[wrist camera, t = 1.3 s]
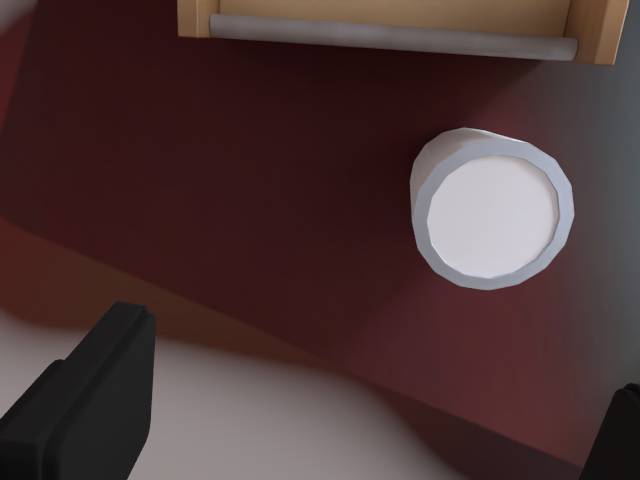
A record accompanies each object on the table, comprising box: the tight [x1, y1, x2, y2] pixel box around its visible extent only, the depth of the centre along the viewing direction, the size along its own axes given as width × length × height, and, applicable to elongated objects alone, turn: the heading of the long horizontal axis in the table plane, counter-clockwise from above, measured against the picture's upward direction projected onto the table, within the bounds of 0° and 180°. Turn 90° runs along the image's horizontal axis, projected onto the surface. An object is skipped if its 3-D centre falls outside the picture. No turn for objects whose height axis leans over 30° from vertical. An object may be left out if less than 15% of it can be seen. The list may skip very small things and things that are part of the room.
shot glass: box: [410, 127, 574, 290], centre depth 27 cm, size 7×7×7 cm
